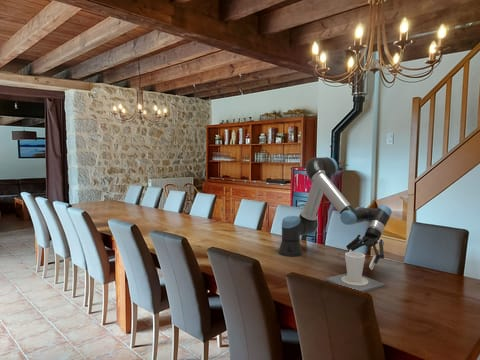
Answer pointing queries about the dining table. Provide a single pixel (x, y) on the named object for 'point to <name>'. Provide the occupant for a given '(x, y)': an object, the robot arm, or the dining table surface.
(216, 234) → the dining table surface
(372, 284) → the grey square plate
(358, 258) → the foam cup
